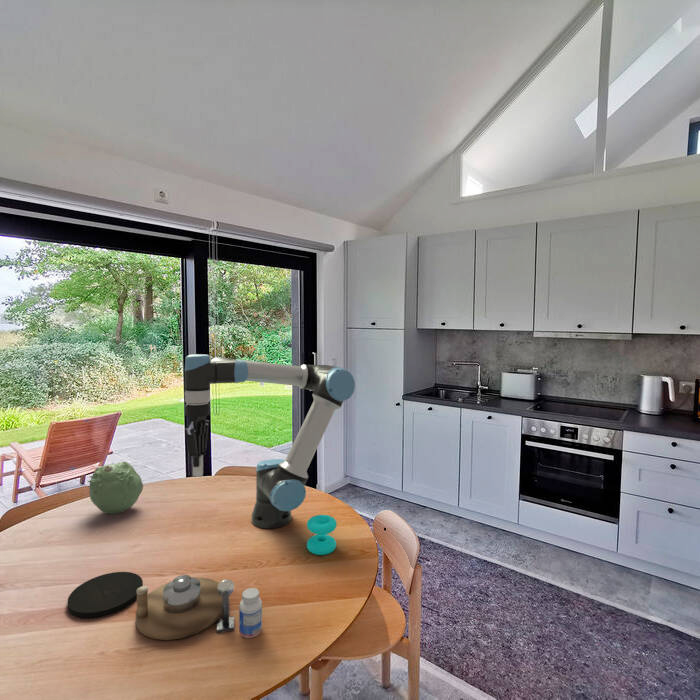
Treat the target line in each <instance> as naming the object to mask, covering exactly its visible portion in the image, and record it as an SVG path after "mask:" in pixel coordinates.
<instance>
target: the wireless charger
mask: <svg viewBox="0 0 700 700" xmlns="http://www.w3.org/2000/svg"><path fill="white" fill-rule="evenodd" d="M143 583H144V581H143V579H142V577H141V576H140V575H139V574H137V573H135V572H130V571H115V572H109V573H105V574H100V575H98V576H95V577H93V578H91V579H89V580H87V581H84V582H83V583H81V584H80V585H78V586H77V587H75V588H74V590H72V591H71V593H70V594H69V595H68V598H67V612H68V613H69V615H70V616H72V617H74V618H76V619H82V620H95V619H100V618H105V617H108V616H111V615H114V614H118V613H119V612H121V611H123V610H125V609H126V608H129V607H130V606H131V605H132V604H134V603H135V602H137V589H138V588H139V587H142V586H144V585H143Z"/></svg>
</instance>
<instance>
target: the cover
mask: <svg viewBox="0 0 700 700" xmlns="http://www.w3.org/2000/svg"><path fill="white" fill-rule="evenodd" d="M167 583H168V584H167ZM167 583H166V584H167V585H166V586H165V588H164V590H163V608H164V610H165V611H166V612H168V613H172V614H179V613H184V612H187V611H190V610H192V609H193V608H195V607H196V606H197V605H198V604H199V602H200V581H199V580H198V579H196V578H194V577H192V576H190V575H188V574H182V575H181V574H180V575H178V576H176V577H174V579H173V580H172V581H170V582H167Z"/></svg>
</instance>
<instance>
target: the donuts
mask: <svg viewBox="0 0 700 700" xmlns="http://www.w3.org/2000/svg"><path fill="white" fill-rule="evenodd" d="M337 524H338V523H337V520H336V519H335V518H334V517H333V516H331V515H329V514H318V515H313V516H312V517H310V518H309V519H308V520H307V523H306V527H307V529H308V531H310V532H311V533H312V534H313V535H312V536H311V537H309V538H308V540H307V542H306V548H307V550H308V551H309V553H311V554H314V555H318V556H322V555H323V556H325V555H328V554H331V553H333V552H334V551H335V549H336V548H337V541H336V539H335V538H334V537H333V536H332V535H330V534H331V533H332V532H334V531H335V530H336V528H337Z"/></svg>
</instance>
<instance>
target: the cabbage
mask: <svg viewBox="0 0 700 700" xmlns="http://www.w3.org/2000/svg"><path fill="white" fill-rule="evenodd" d="M89 478H90V480H89V481H87V482H88V483H89V486H88V490H89V499H90V501H91V502H92V503H93V505H94V506H95V507H96V508H97V509H98V510H100V511H101V512H103V513H106V514H108V515H118V514H120V513H123V512H125V511H127V510H129V509H131V508H132V507H133V506H134V505H135V504H136V503H137V501H138V499H139V497H140V496H141V494H142V491H143V489H144V484H143V481H142V477H141V476H140V475H139V473H138V472H137V471H136V469H135V468H134V467H133V465H131V464H130V463H129V462H127V461H121V462H117V463H110V464H106V465H102V466H97V467H95V469H94V473H92V475H91V476H89Z"/></svg>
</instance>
